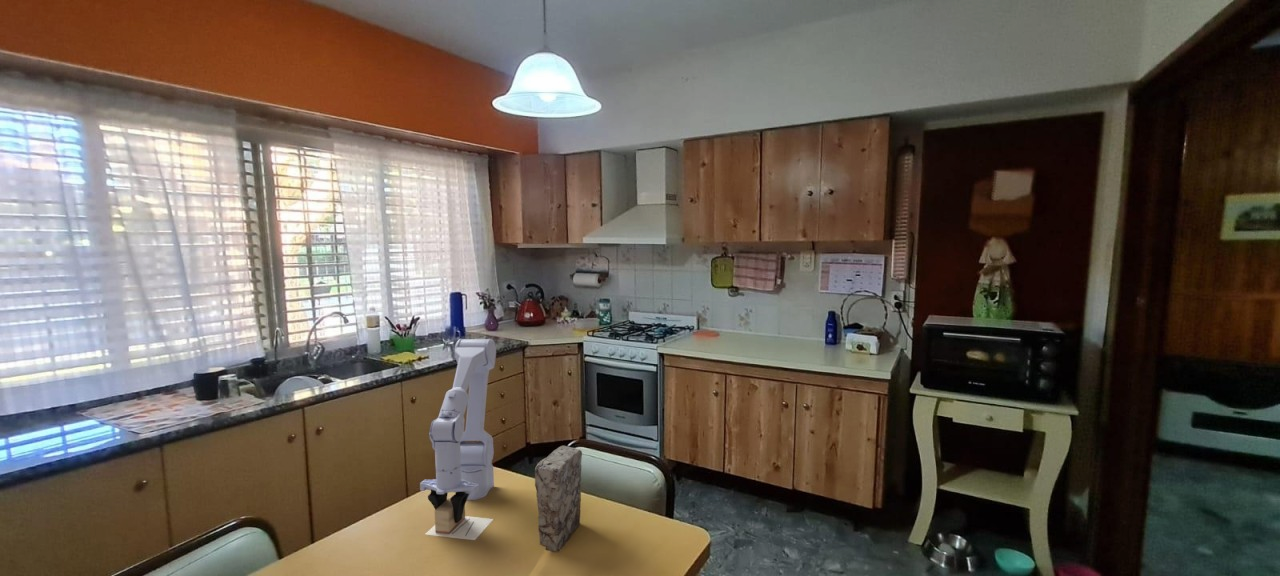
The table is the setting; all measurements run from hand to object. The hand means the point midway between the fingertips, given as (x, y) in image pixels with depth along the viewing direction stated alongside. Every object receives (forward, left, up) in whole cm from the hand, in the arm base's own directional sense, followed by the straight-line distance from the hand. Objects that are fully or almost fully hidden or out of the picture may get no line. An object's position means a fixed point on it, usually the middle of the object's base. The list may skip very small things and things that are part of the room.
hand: (450, 519), depth 117 cm
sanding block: (0, 0, -1) cm, 1 cm away
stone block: (-2, +28, -3) cm, 28 cm away
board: (0, +3, -3) cm, 4 cm away
